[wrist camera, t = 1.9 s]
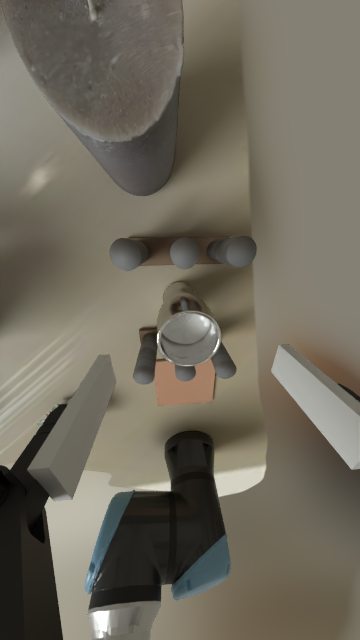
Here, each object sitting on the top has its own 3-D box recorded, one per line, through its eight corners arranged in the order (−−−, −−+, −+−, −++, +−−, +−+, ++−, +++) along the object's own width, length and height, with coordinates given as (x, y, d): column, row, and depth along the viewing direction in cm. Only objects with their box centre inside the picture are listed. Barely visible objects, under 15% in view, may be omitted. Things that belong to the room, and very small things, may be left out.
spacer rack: (217, 341, 34) (237, 380, 24) (142, 345, 33) (131, 387, 23) (226, 236, 26) (264, 230, 16) (127, 238, 25) (100, 232, 15)
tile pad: (211, 399, 42) (212, 401, 41) (158, 403, 41) (158, 405, 40) (215, 356, 36) (216, 358, 35) (153, 360, 35) (153, 362, 34)
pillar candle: (96, 86, 18) (-109, -368, 5) (180, 107, 19) (207, -210, 6) (102, 190, 22) (1, 107, 9) (171, 203, 23) (175, 146, 10)
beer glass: (174, 271, 27) (182, 294, 14) (205, 293, 29) (237, 332, 16) (153, 302, 29) (141, 349, 16) (183, 321, 32) (195, 377, 18)
